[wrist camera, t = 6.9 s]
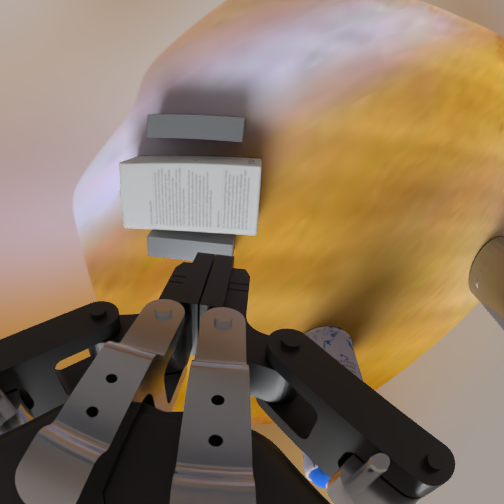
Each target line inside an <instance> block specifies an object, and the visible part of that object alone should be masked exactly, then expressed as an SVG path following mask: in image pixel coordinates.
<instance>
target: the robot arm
mask: <svg viewBox="0 0 504 504" xmlns="http://www.w3.org/2000/svg"><path fill="white" fill-rule="evenodd" d="M233 267H234V256H228V255H219V254H217V255H216V254H210V253H202V252H198V253H197V255H196V257H195V259H194V261H193V263H187V262H183V263H182V264H180V265H179V266H177V267H176V268H175V270H174V272H173V273H172V276H171V277H170V279H169V282H168V283H167V285H166V286H165V288H164V290H163V292H162V294H161V296H160V298H159V300H154V301H152V302H150V303H148V304H147V305H146V306H145V307H144V308H143V309H142V311H141V312H140V314H133V315H119V311H118V308H117V307H116V306H115V305H114V304H112V303H110V302H104V301H99V302H93V303H90V304H88V305H85V306H83V307H81V308H78V309H75V310H73V311H70V312H68V313H65V314H63V315H60V316H58V317H55V318H53V319H50V320H48V321H45V322H43V323H40V324H38V325H35V326H33V327H30V328H28V329H26V330H23V331H21V332H19V333H16V334H13V335H11V336H9V337H6V338H4V339H1V340H0V504H330V503H329V502H328V501H327V500H326V499H325V498H324V497H323V496H322V495H321V494H320V493H319V492H318V491H317V490H316V489H315V488H314V486H312V484H311V483H310V482H309V481H308V480H307V479H306V478H305V477H304V476H303V475H302V474H301V473H300V472H299V471H298V469H297V468H296V467H295V466H294V465H293V464H292V463H291V462H290V460H289V459H288V458H287V457H286V456H285V455H284V454H283V452H282V451H281V450H280V449H279V448H278V447H277V446H276V445H275V444H274V443H273V442H272V441H270V440H269V439H267V438H266V437H264V436H263V435H261V434H259V433H258V432H256V431H253V430H251V408H250V395H251V396H254V397H256V400H257V402H258V404H259V406H260V407H261V408H262V409H263V410H264V411H265V412H266V413H267V415H268V416H269V417H270V418H271V419H272V420H273V421H274V422H275V423H276V424H277V425H278V426H279V427H280V429H281V430H282V431H284V433H285V434H286V435H287V436H288V437H289V438H290V439H291V440H292V441H293V442H294V443H295V444H296V445H297V446H298V447H299V448H300V449H301V450H302V451H303V452H304V453H305V454H306V455H307V456H308V457H309V458H310V459H311V460H312V461H313V462H314V463H315V464H316V465H317V466H318V467H319V468H320V469H321V470H322V471H323V472H324V473H325V474H326V475H328V476H329V477H330V480H329V482H328V486H327V491H328V495H329V497H330V499H331V500H332V501H333V503H334V504H415V503H416V502H417V501H418V500H420V499H421V498H423V497H424V496H426V495H427V494H429V493H431V492H432V491H434V490H435V489H436V488H438V487H439V486H441V485H442V484H444V483H445V482H446V481H448V480H449V479H450V478H451V476H452V474H453V472H454V469H455V460H454V456H453V454H452V452H451V451H450V449H449V448H448V447H447V446H446V445H444V444H443V443H442V442H440V441H439V440H438V439H436V438H435V437H433V436H432V435H431V434H430V433H428V432H427V431H426V430H424V429H423V428H422V427H420V426H419V425H418V424H417V423H415V422H414V421H413V420H411V419H410V418H408V417H407V416H406V415H405V414H403V413H402V412H401V411H400V410H398V409H397V408H396V407H395V406H393V405H392V404H390V403H389V402H388V401H387V400H386V399H384V398H383V397H382V396H381V395H379V394H378V393H377V392H376V391H374V390H373V389H372V388H371V387H369V386H368V385H367V384H366V383H364V382H363V381H362V380H361V379H359V378H358V377H357V376H356V375H354V374H353V373H352V372H351V371H349V370H348V369H347V368H346V367H344V366H343V365H342V364H341V363H340V362H338V361H337V360H336V359H335V358H333V357H332V356H331V355H330V354H329V353H327V352H326V351H325V350H324V349H322V348H321V347H320V346H319V345H318V344H316V343H315V342H314V341H313V340H312V339H310V338H309V337H308V336H307V335H305V334H304V333H302V332H300V331H297V330H294V329H280V330H276V331H274V332H273V333H271V334H270V336H269V335H266V334H263V333H261V332H258V331H256V330H255V329H253V328H252V327H251V326H250V325H249V324H248V322H247V319H246V311H247V301H248V291H249V281H250V276H249V274H248V273H247V271H246V270H245V269H236V268H233ZM469 286H470V290H471V292H472V293H473V294H474V295H475V297H476V298H477V299H478V300H479V301H480V302H481V303H482V305H483V306H484V307H485V308H486V309H487V311H488V312H489V313H490V314H491V315H492V316H493V318H494V319H495V320H496V321H497V322H498V324H499V325H500V326H501V327H502V329H503V330H504V237H503V236H502V237H497V238H494V239H492V240H491V241H489V242H488V243H487V244H486V245H485V246H484V247H483V248H482V249H481V251H480V252H479V253H478V255H477V257H476V258H475V260H474V263H473V265H472V268H471V271H470V276H469ZM85 349H89V352H90V355H91V356H90V357H88V358H86V359H84V360H81V361H79V362H77V363H75V364H73V365H71V366H68V367H66V368H64V369H62V370H56V369H55V366H56V364H57V363H58V362H59V361H61V360H63V359H65V358H67V357H70V356H72V355H74V354H76V353H79V352H81V351H83V350H85ZM190 355H195V359H194V360H192V362H191V366H190V372H189V379H188V385H187V391H186V398H185V404H184V411H183V412H172V409H173V406H174V404H175V401H176V399H177V396H178V393H179V391H180V388H181V385H182V383H183V380H184V378H185V375H186V372H187V363H188V360H189V357H190Z"/></svg>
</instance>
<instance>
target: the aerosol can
mask: <svg viewBox="0 0 504 504" xmlns="http://www.w3.org/2000/svg"><path fill="white" fill-rule="evenodd" d="M304 334H305V335H307V336H308V337H309V338H310V339H312V340H313V341H314V342H315V343H316V344H318V345H319V346H320V347H321V348H322V349H324V350H325V351H326V352H327V353H329V354H330V355H331V356H332V357H333V358H335V359H336V360H337V361H338V362H340V363H341V364H342V365H343V366H344V367H346V368H347V369H348V370H349V371H351V372H352V373H353V374H354V375H356V376H357V377H358V378H359V379H361V380H362V381H363V379H362V376H361V372H360V369H359V366H358V363H357V360H356V356H355V353H354V350H353V342H352V340H351V337H350V335H349V334H348V333H347V332H346V331H345V330H343V329H340V328H338V327H331V326H324V327H318V328H315V329H312V330H310V331H307V332H306V333H304ZM303 464H304V472H305V473H306V478H308V479H309V480H310V481H313V482H314V483H315V484H316V485H317V486H319V487H322V488H326V489H327V486H328V482H329V480H330V477H329V476H328V475H326V474H325V473H324V472H323V471H322V470H321V469H320V468H319V467H318V466H317V465H316V464H315V463H314V462H313V461H312V460H311V459H310V458H309V457H308V456H307V455H306V454H305V453H304V452H303Z"/></svg>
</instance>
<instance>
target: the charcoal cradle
mask: <svg viewBox="0 0 504 504" xmlns="http://www.w3.org/2000/svg"><path fill="white" fill-rule="evenodd" d="M245 125H246V118H241V117H228V116H212V115H185V114H150V115H148V120H147V138H183V139H204V140H220V141H233V142H243V140H244V135H245ZM234 244H235V234H223V233H207V232H192V231H175V230H158V229H153V230H152V231H151V232H150V233H149V235H148V236H147V248H148V256H154V257H163V258H172V259H181V260H190V261H194V259H195V257H196V255H197V253H198V252H202V253H210V254H216V255H217V254H219V255H228V256H233V253H234Z"/></svg>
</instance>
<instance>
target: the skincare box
mask: <svg viewBox="0 0 504 504" xmlns="http://www.w3.org/2000/svg"><path fill="white" fill-rule="evenodd" d="M119 166H120V200H121V206H122V214H123V225H124V228H136V229H158V230H175V231H192V232H207V233H223V234H237V235H257V229H258V217H259V203H260V187H261V170H262V163H261V159H258V158H242V157H221V156H137V157H135V158H132V159H129V160H126V161H123V162H120V164H119Z"/></svg>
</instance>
